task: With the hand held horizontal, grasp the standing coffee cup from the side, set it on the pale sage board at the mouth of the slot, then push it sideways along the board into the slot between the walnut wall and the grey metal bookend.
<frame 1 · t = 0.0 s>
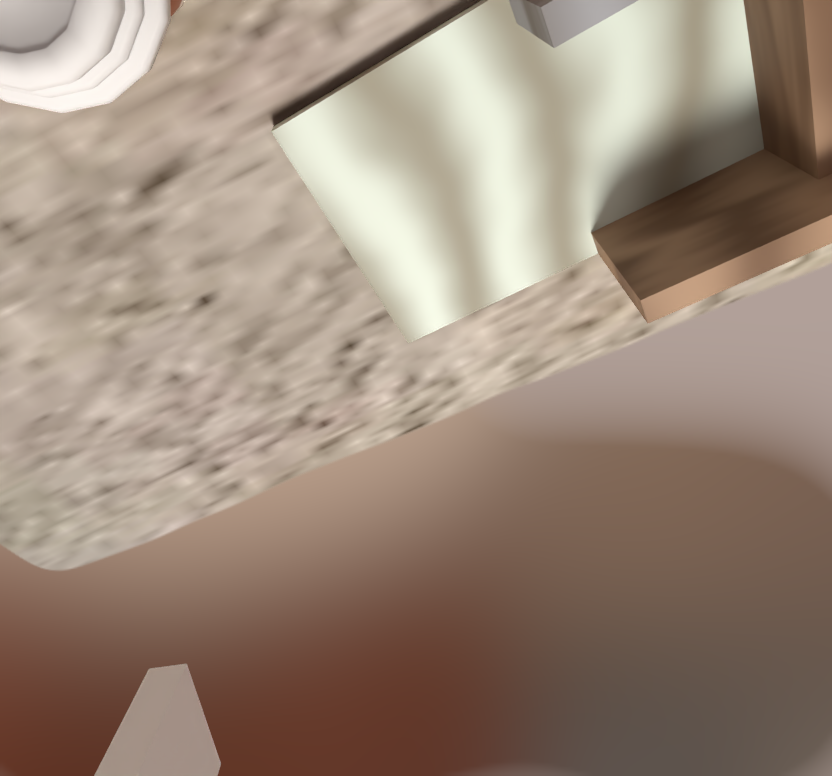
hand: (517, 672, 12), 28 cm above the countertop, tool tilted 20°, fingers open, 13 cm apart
shelf: (624, 96, 32), on the countertop
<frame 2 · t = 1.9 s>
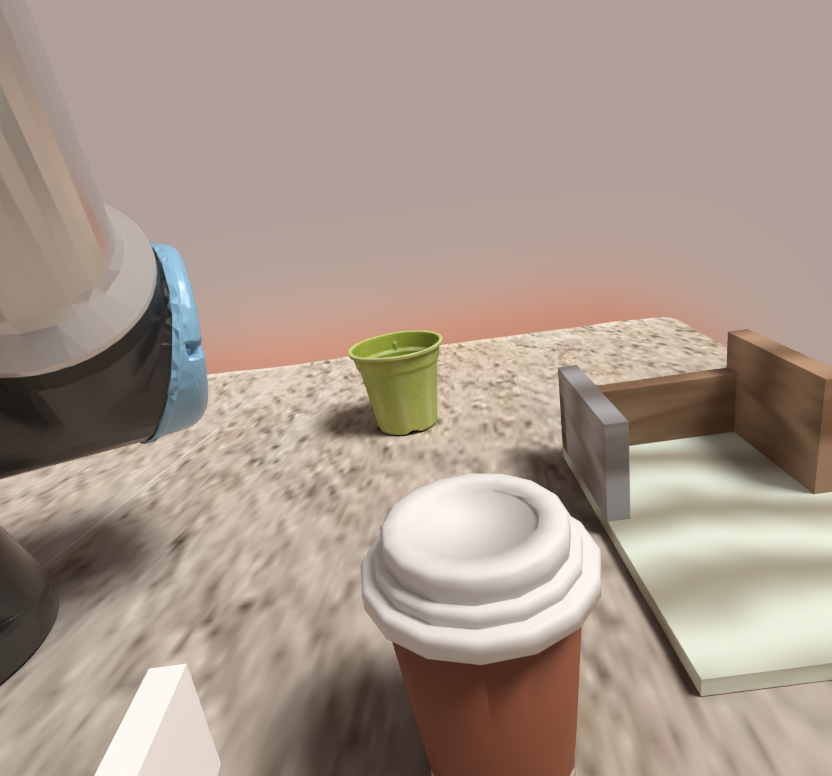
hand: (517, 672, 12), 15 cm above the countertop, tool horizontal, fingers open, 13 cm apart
coffee cup: (501, 755, 26), on the countertop
plant pot: (407, 425, 62), on the countertop
shelf: (693, 489, 43), on the countertop
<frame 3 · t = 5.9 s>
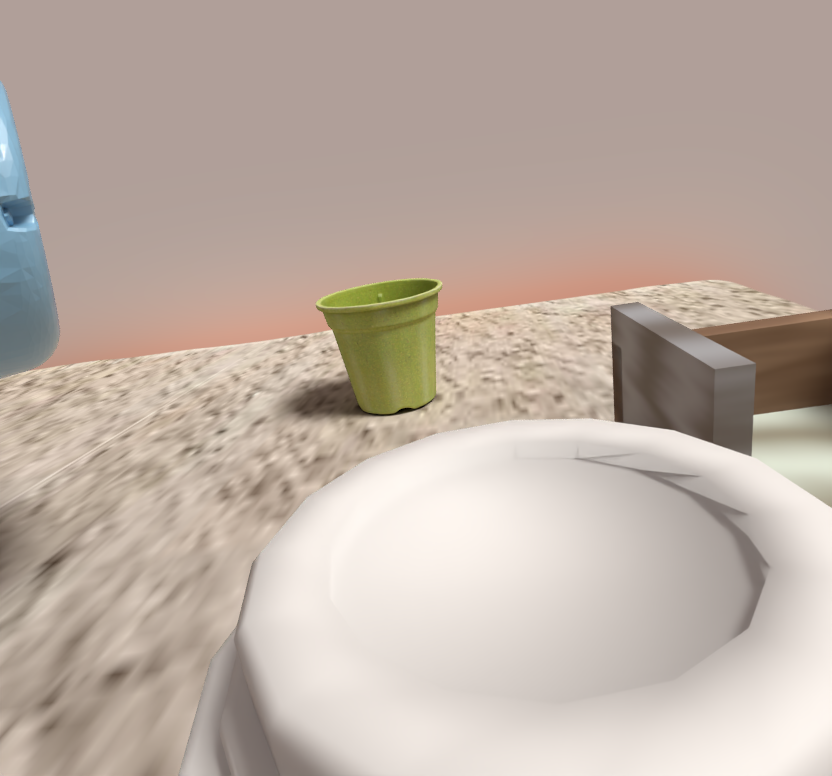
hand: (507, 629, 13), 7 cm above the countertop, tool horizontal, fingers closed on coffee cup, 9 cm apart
plant pot: (397, 403, 47), on the countertop
shelf: (828, 481, 28), on the countertop
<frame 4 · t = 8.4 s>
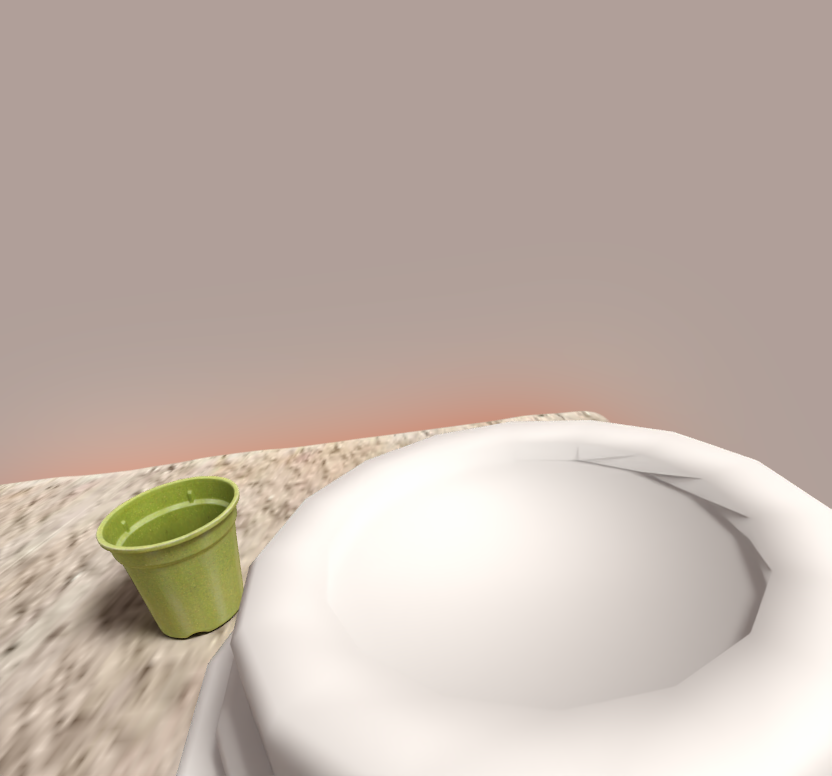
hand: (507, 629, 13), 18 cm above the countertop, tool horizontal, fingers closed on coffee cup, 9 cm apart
plant pot: (202, 612, 44), on the countertop
when the fingers open (8 cm above the countertop, at t = 10.9 s): coffee cup stays where it is, resting on shelf.
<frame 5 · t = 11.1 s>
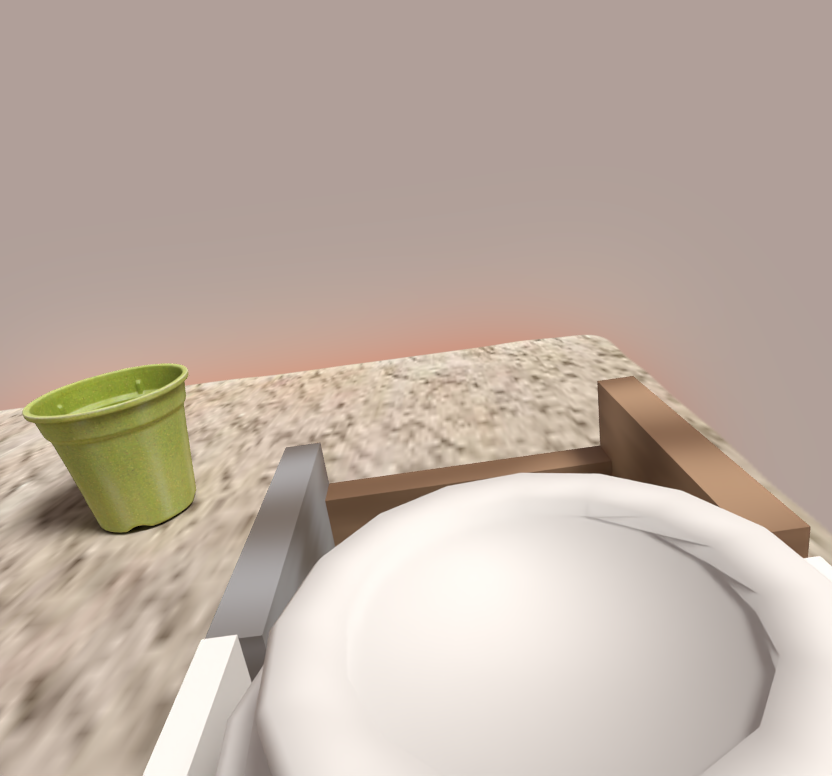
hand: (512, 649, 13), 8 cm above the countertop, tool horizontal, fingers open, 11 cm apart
plant pot: (150, 511, 40), on the countertop
shelf: (504, 711, 21), on the countertop
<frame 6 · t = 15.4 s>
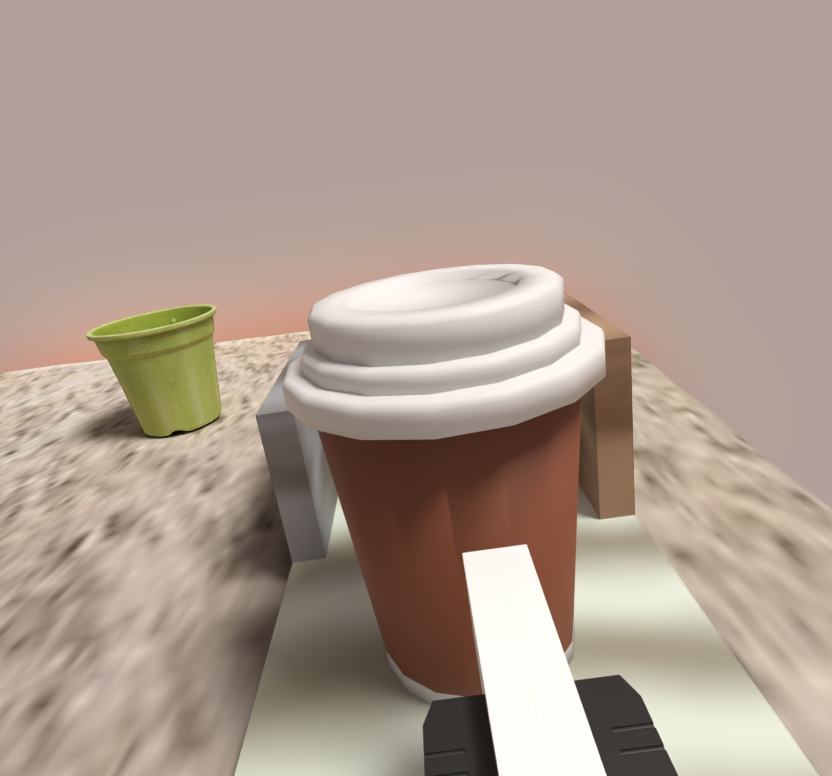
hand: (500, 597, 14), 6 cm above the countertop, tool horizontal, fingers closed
coffee cup: (479, 638, 21), point 1 cm above the countertop, touching gripper
plant pot: (184, 424, 49), on the countertop
shelf: (456, 510, 30), on the countertop
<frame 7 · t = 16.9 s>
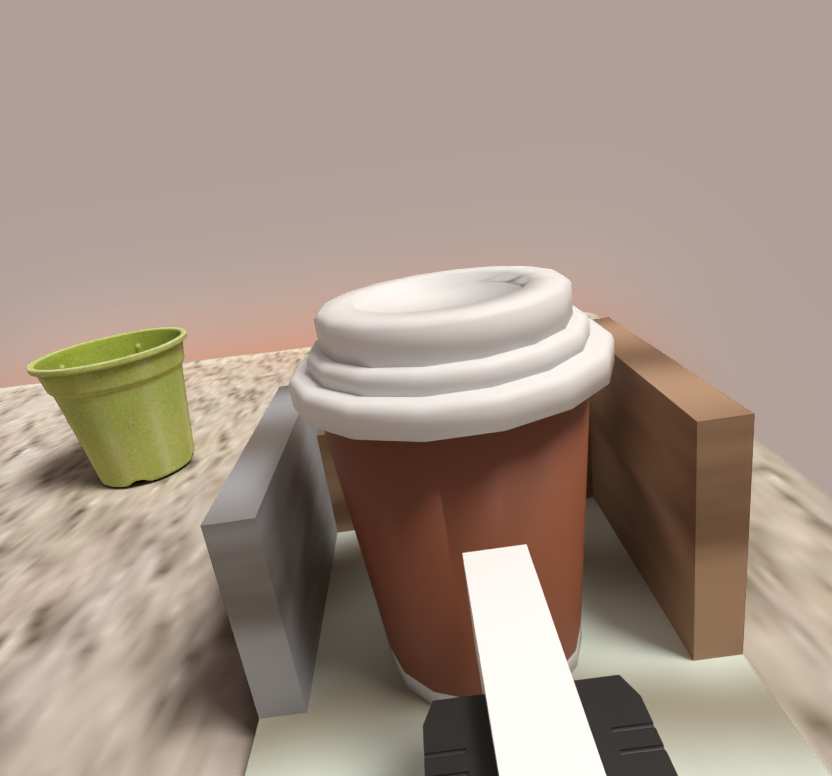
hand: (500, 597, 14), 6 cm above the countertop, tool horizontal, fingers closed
coffee cup: (485, 640, 21), point 1 cm above the countertop, touching shelf
plant pot: (149, 469, 41), on the countertop
shelf: (484, 622, 23), on the countertop
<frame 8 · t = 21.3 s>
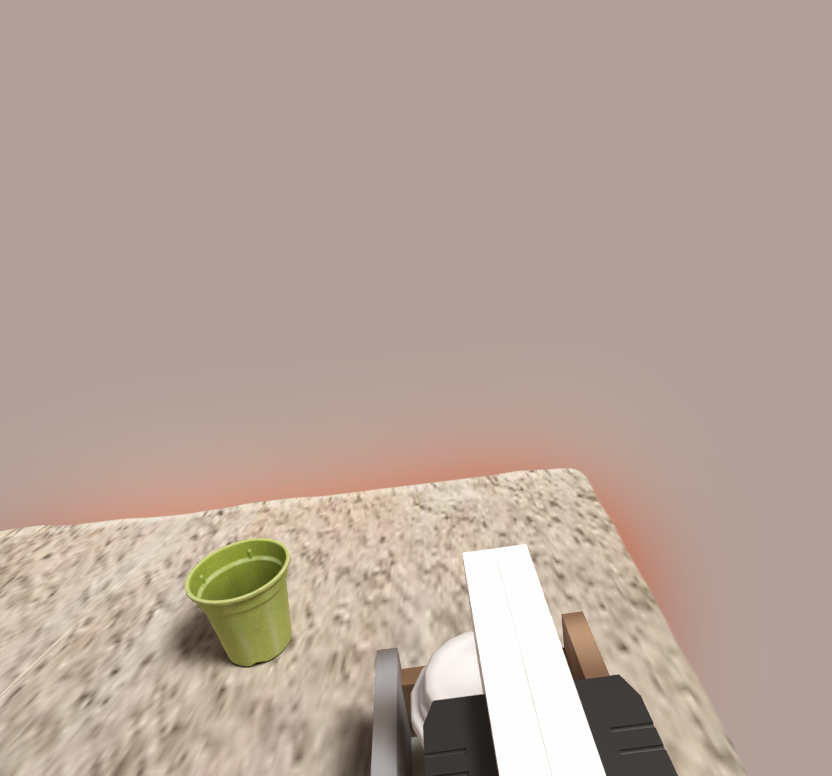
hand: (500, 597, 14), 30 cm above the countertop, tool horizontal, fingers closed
plant pot: (260, 644, 57), on the countertop
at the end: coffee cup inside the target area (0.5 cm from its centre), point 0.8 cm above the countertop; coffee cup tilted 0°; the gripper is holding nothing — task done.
